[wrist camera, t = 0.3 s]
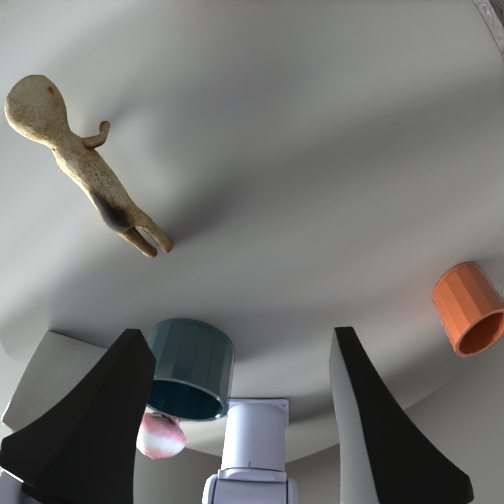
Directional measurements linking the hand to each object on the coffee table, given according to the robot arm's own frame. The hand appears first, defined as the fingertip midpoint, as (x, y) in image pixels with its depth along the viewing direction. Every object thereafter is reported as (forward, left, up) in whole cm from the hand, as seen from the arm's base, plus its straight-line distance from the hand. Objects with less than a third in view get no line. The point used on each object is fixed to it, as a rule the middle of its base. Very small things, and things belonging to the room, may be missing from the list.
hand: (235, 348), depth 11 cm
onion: (-31, +16, -10) cm, 36 cm away
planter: (-16, +24, -10) cm, 31 cm away
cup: (-7, -17, -10) cm, 21 cm away
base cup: (-13, +7, -10) cm, 18 cm away
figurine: (+5, +9, -10) cm, 14 cm away
